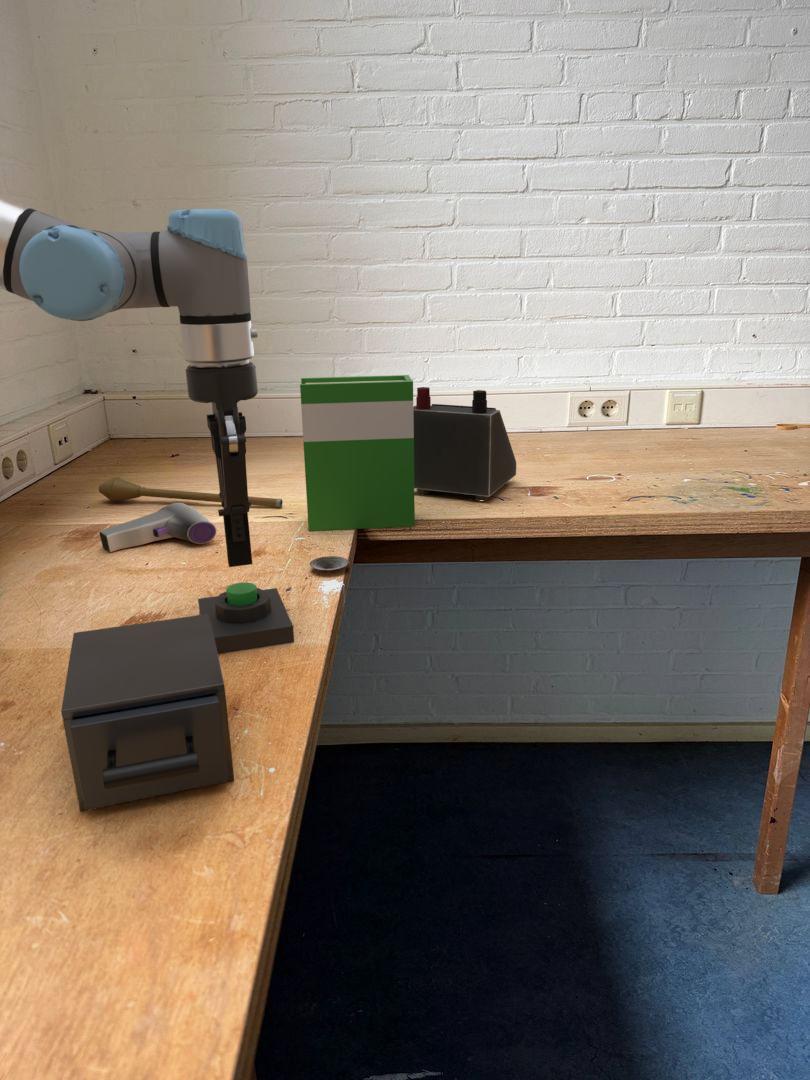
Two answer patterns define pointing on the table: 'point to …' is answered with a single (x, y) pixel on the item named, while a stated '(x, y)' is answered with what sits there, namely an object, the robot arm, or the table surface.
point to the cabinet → (142, 673)
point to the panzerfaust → (167, 493)
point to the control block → (248, 622)
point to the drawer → (149, 750)
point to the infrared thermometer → (160, 528)
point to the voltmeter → (460, 447)
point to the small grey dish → (329, 563)
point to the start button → (241, 593)
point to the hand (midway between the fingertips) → (240, 563)
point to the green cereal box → (358, 451)
